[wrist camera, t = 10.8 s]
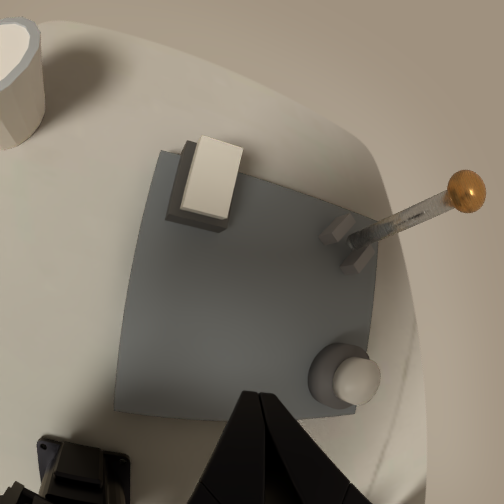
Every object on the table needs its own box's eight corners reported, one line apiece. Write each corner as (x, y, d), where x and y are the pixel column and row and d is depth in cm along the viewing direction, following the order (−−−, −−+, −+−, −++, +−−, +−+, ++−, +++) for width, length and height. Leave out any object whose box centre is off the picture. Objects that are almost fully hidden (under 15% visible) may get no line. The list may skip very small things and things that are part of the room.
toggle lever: (351, 268, 21) (494, 211, 14) (332, 239, 21) (477, 171, 13) (361, 248, 23) (489, 193, 15) (343, 221, 23) (473, 157, 15)
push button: (362, 398, 20) (375, 403, 19) (328, 401, 19) (341, 407, 18) (370, 357, 21) (383, 359, 19) (336, 356, 19) (350, 359, 18)
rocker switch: (221, 219, 17) (227, 218, 16) (179, 209, 16) (182, 206, 15) (237, 152, 18) (243, 148, 17) (197, 140, 17) (201, 135, 16)
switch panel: (343, 409, 23) (367, 419, 20) (114, 402, 17) (113, 421, 14) (367, 222, 26) (392, 215, 23) (158, 155, 20) (166, 134, 17)
